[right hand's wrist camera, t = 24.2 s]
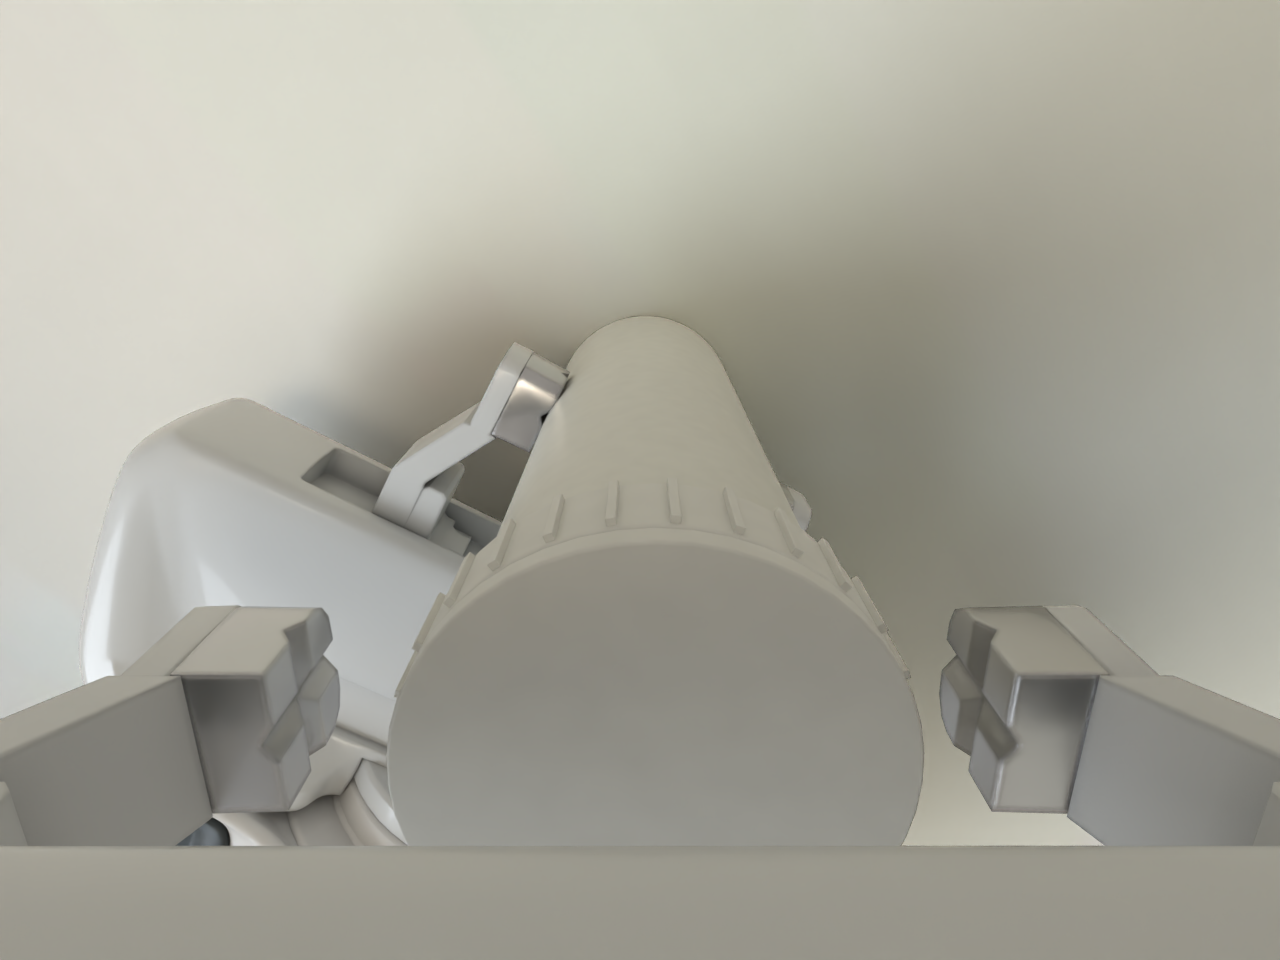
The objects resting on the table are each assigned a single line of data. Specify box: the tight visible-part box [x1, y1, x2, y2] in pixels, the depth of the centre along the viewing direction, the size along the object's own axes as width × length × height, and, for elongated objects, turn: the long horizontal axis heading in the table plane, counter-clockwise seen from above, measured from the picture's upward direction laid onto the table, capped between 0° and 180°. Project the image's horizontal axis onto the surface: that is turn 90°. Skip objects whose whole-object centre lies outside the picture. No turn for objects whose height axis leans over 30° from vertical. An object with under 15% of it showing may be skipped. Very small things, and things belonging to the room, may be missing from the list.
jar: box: [497, 316, 800, 536], centre depth 16 cm, size 5×5×16 cm
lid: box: [386, 478, 924, 846], centre depth 9 cm, size 6×6×2 cm
